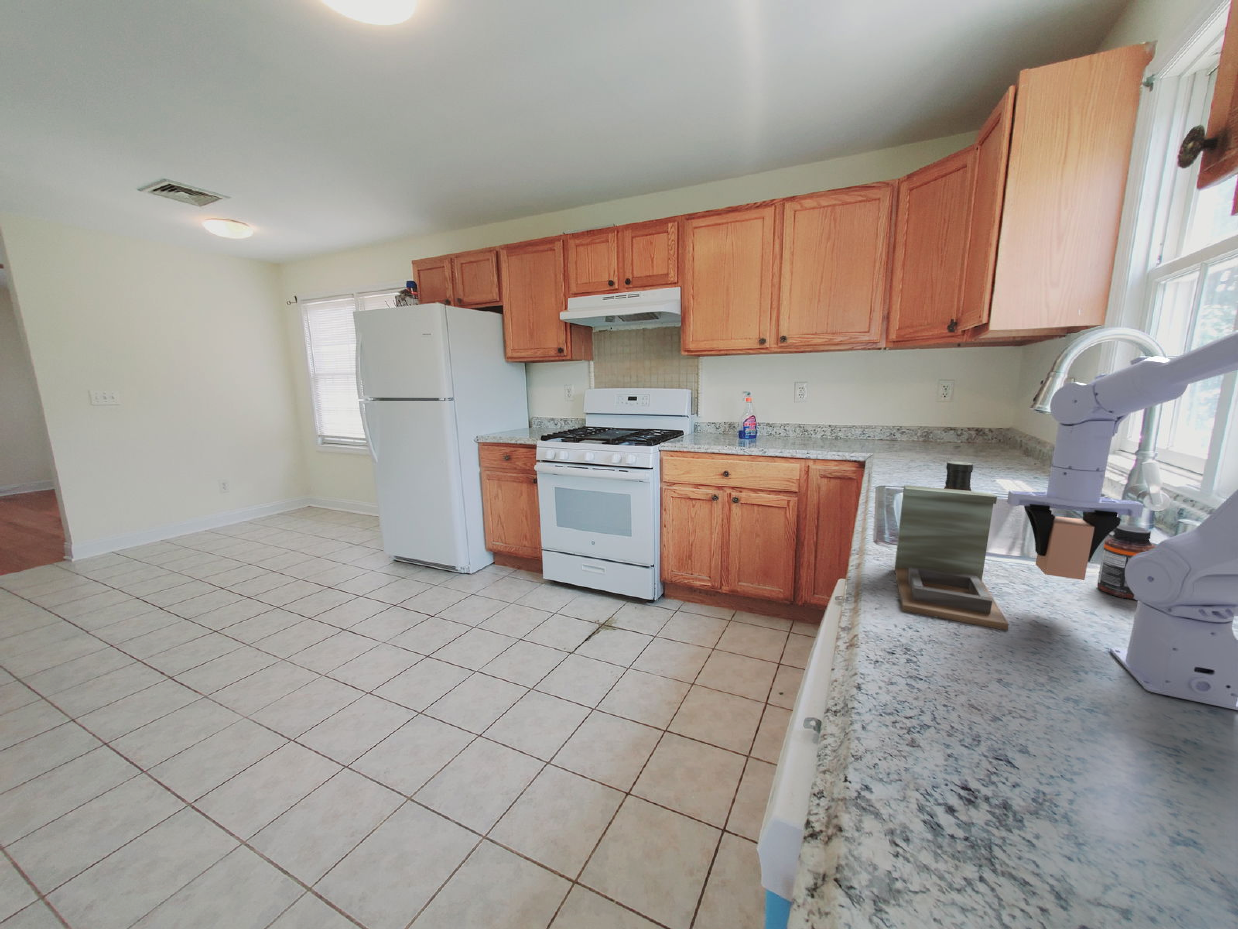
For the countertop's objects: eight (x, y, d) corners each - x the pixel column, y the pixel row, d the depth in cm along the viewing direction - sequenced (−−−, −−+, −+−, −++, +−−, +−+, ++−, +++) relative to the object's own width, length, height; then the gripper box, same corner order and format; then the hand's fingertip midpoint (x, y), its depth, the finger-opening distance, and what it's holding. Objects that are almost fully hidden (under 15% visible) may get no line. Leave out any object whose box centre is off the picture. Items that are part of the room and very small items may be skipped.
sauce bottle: (975, 572, 88) (990, 466, 85) (937, 569, 89) (951, 465, 86) (957, 559, 94) (971, 460, 91) (923, 556, 96) (935, 459, 92)
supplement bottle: (1123, 585, 82) (1135, 523, 80) (1158, 601, 77) (1173, 534, 75) (1086, 584, 83) (1097, 522, 81) (1118, 600, 77) (1132, 534, 75)
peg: (1084, 580, 69) (1094, 527, 67) (1045, 574, 71) (1054, 522, 69) (1072, 569, 73) (1081, 519, 71) (1035, 564, 75) (1043, 515, 73)
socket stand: (1007, 630, 68) (1025, 521, 65) (902, 610, 74) (914, 509, 71) (979, 582, 84) (992, 492, 81) (894, 569, 89) (904, 485, 86)
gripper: (1132, 467, 69) (1114, 555, 72) (1007, 459, 76) (995, 541, 78) (1159, 476, 63) (1138, 572, 66) (1021, 466, 69) (1007, 555, 72)
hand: (1061, 556), depth 71 cm, fingers closed on peg, 4 cm apart
